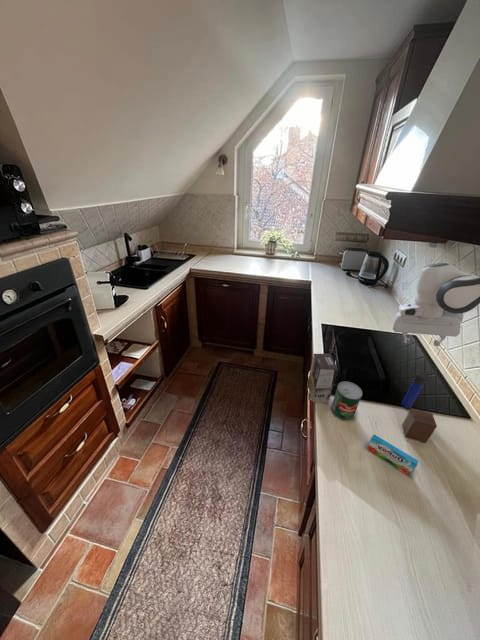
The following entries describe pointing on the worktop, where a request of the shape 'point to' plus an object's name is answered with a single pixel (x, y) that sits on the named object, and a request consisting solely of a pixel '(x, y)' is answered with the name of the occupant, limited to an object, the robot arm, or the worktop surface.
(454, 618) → the worktop surface
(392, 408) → the worktop surface
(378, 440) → the yogurt
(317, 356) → the coffee box
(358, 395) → the canned tomato
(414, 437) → the walnut block
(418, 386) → the dark blue flat piece
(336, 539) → the worktop surface
